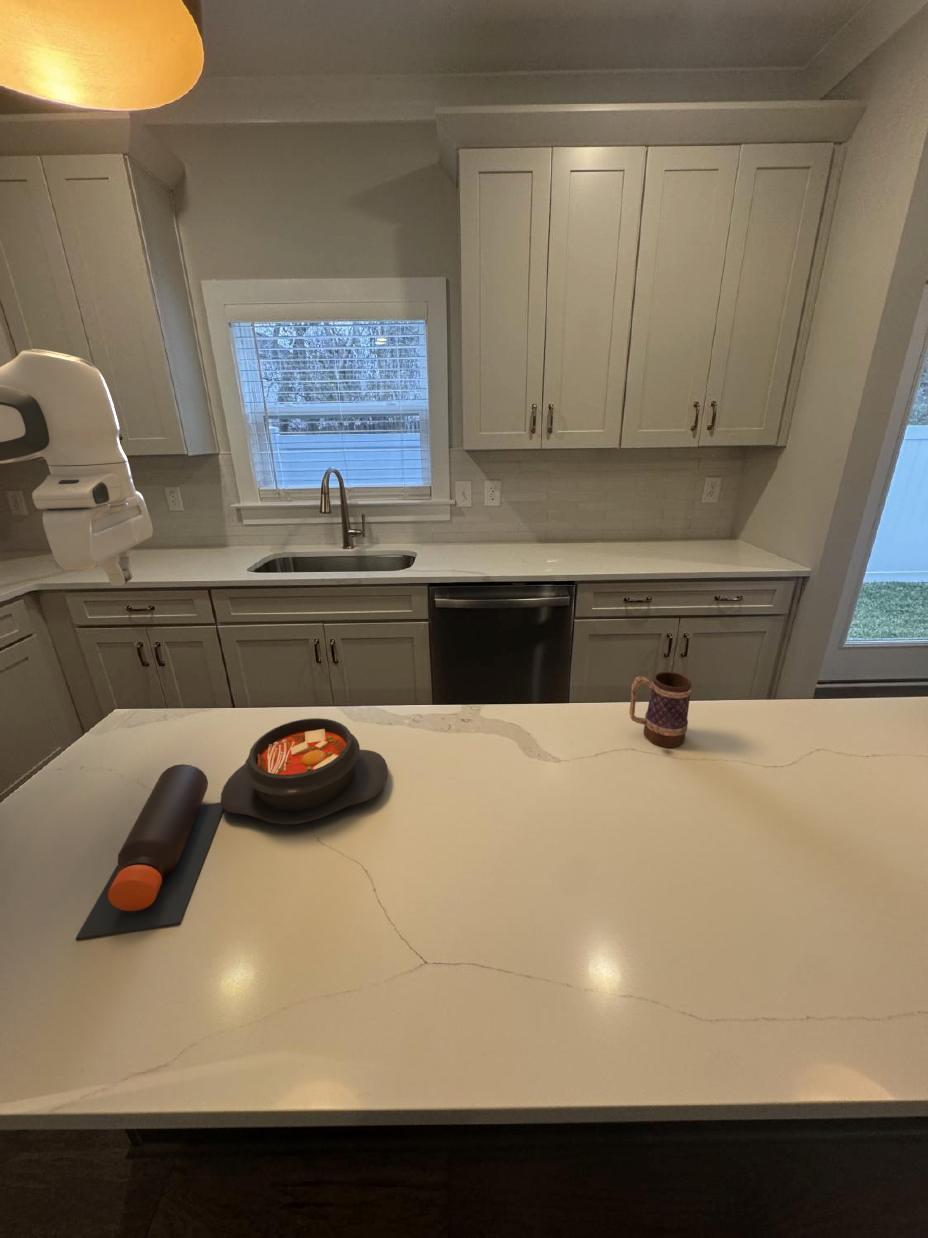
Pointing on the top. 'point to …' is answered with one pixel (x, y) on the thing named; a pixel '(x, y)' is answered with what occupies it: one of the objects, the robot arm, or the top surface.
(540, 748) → the top surface
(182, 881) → the mat
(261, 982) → the top surface
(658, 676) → the mug
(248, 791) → the casserole
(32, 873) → the top surface
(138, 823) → the vinegar
